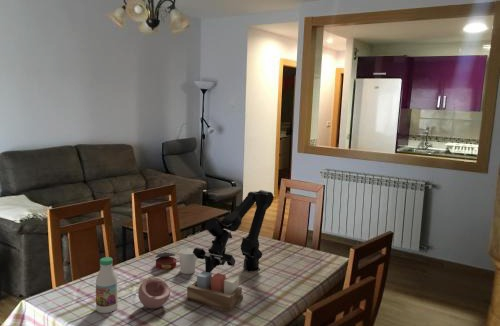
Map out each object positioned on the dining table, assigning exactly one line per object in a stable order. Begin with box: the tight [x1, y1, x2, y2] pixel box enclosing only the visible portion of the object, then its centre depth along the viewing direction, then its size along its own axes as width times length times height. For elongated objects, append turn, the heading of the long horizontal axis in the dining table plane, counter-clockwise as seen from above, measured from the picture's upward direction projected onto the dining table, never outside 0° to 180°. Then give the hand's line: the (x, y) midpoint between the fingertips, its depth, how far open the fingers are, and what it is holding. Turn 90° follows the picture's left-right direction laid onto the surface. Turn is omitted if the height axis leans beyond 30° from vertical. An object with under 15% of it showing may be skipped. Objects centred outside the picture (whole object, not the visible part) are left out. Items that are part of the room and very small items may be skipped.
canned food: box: [155, 252, 177, 271], centre depth 196 cm, size 11×10×10 cm
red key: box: [211, 272, 227, 292], centre depth 166 cm, size 5×4×8 cm
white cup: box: [179, 247, 197, 275], centre depth 191 cm, size 8×8×10 cm
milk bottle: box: [95, 256, 118, 314], centre depth 153 cm, size 8×8×20 cm
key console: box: [186, 280, 244, 313], centre depth 164 cm, size 12×19×6 cm, turn 66°
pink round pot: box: [137, 277, 171, 309], centre depth 156 cm, size 12×12×11 cm
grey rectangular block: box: [196, 271, 213, 289], centre depth 167 cm, size 5×4×8 cm
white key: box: [224, 275, 240, 295], centre depth 163 cm, size 5×4×8 cm
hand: (206, 274), depth 170 cm, fingers closed
